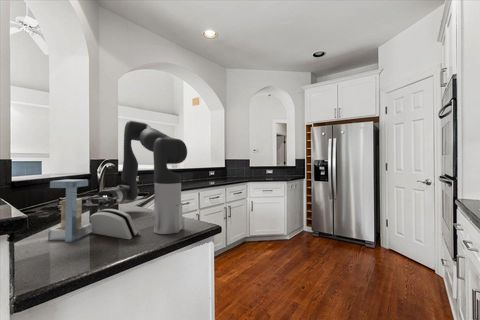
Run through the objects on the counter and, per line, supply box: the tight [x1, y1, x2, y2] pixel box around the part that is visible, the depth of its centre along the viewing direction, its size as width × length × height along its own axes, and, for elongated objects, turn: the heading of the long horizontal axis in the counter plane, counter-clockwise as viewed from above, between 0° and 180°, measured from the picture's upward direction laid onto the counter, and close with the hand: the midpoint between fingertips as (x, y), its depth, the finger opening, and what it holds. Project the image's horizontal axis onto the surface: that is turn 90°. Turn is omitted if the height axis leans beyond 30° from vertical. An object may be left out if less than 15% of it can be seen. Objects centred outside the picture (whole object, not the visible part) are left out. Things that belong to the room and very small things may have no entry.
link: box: [60, 198, 83, 230], centre depth 80 cm, size 4×4×12 cm
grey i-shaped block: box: [47, 179, 93, 243], centre depth 79 cm, size 9×11×18 cm
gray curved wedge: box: [89, 208, 141, 240], centre depth 81 cm, size 17×5×10 cm, turn 68°
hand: (87, 204), depth 89 cm, fingers open, 8 cm apart
